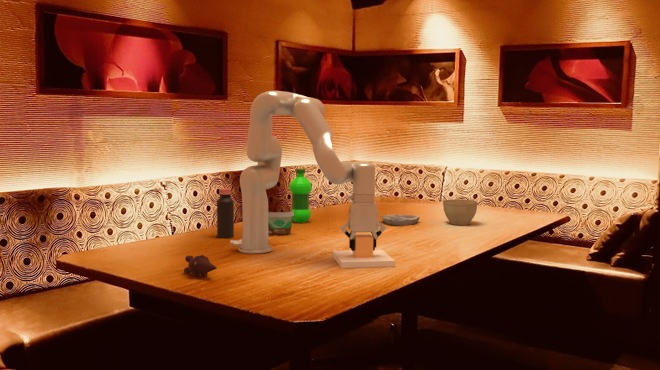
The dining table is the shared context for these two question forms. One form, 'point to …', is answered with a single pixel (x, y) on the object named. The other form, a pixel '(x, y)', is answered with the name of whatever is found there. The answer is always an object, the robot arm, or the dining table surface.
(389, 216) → the grey stone plate
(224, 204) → the vinegar
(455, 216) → the planter bowl
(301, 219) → the plastic bottle
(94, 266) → the dining table surface
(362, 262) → the post board
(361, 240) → the orange block
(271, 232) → the food container
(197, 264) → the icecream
